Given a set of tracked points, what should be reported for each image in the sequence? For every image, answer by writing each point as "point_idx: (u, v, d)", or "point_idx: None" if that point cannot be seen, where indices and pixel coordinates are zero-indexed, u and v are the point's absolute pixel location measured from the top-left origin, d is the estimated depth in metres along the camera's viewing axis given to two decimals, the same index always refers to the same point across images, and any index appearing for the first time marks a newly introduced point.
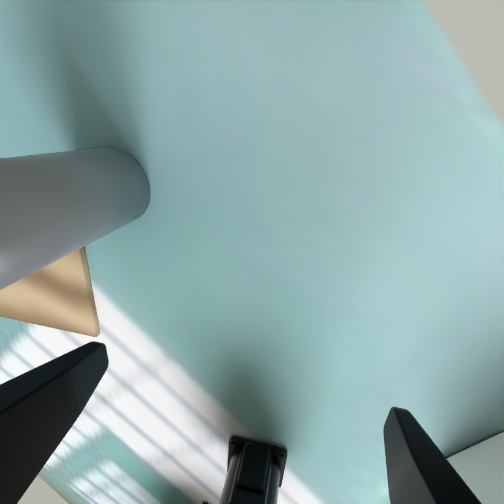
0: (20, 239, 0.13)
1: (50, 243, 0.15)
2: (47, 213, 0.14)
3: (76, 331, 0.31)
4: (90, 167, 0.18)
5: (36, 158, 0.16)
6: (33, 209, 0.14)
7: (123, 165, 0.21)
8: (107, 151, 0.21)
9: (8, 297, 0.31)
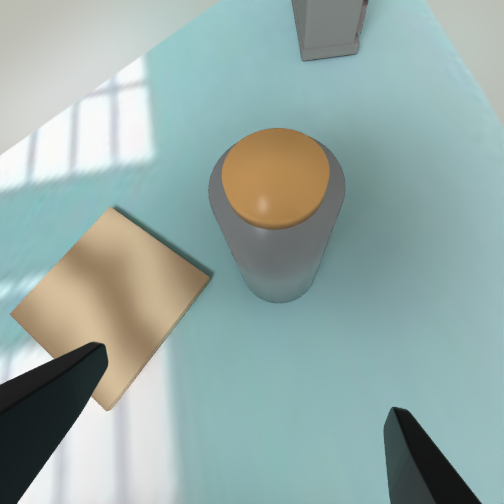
0: (333, 223, 0.13)
1: (318, 249, 0.14)
2: None
3: None
4: None
5: None
6: None
7: None
8: None
9: (51, 300, 0.24)
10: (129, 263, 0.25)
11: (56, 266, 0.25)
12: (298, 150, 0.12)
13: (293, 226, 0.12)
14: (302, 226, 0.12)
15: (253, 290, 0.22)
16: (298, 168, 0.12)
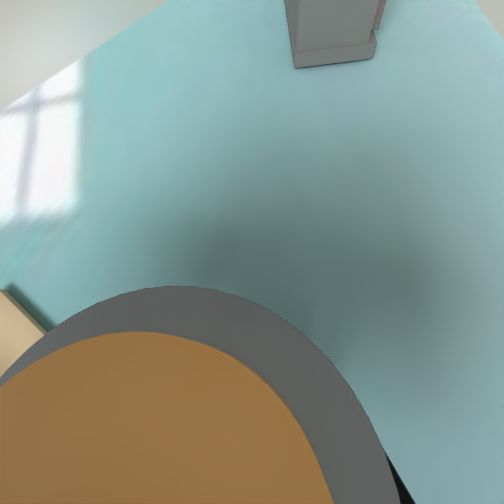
0: None
1: None
2: None
3: None
4: None
5: None
6: None
7: None
8: None
9: None
10: None
11: None
12: (218, 465, 0.03)
13: None
14: None
15: None
16: None
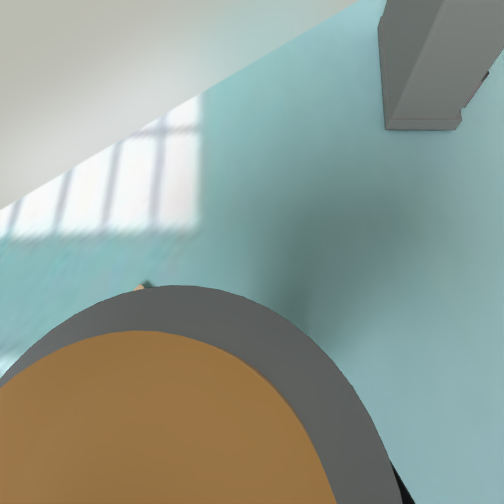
0: None
1: None
2: None
3: None
4: None
5: None
6: None
7: None
8: None
9: None
10: None
11: None
12: (221, 464, 0.03)
13: None
14: None
15: None
16: None
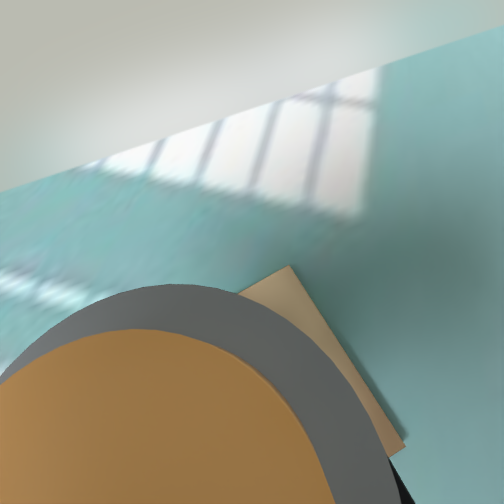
0: None
1: None
2: None
3: None
4: None
5: None
6: None
7: None
8: None
9: None
10: None
11: None
12: (219, 462, 0.03)
13: None
14: None
15: None
16: None
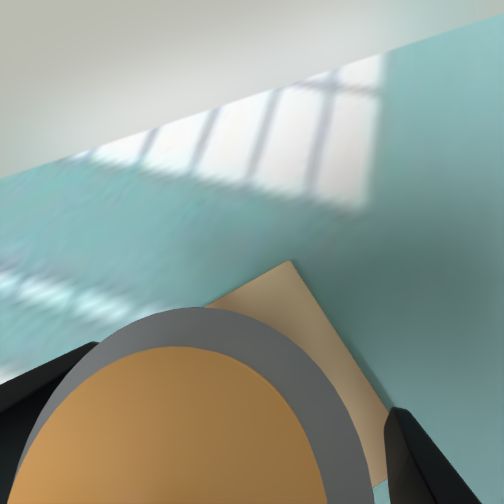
0: None
1: None
2: None
3: None
4: None
5: None
6: None
7: None
8: None
9: None
10: None
11: None
12: (238, 441, 0.04)
13: None
14: None
15: None
16: None
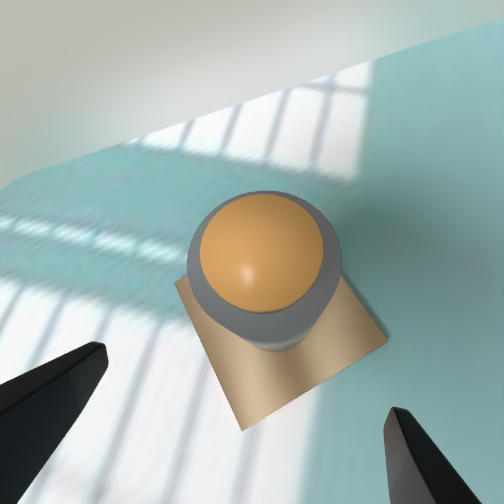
0: None
1: (312, 324, 0.12)
2: None
3: (229, 396, 0.21)
4: None
5: None
6: None
7: None
8: None
9: None
10: None
11: None
12: (287, 222, 0.11)
13: (282, 310, 0.11)
14: (292, 310, 0.10)
15: None
16: (287, 245, 0.10)
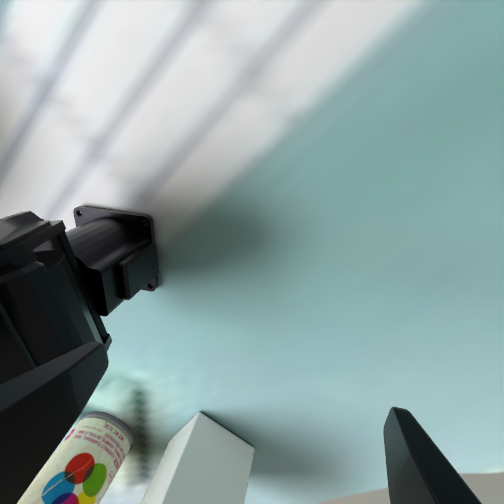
0: None
1: None
2: None
3: None
4: None
5: None
6: None
7: None
8: None
9: None
10: None
11: None
12: None
13: None
14: None
15: None
16: None
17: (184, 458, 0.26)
